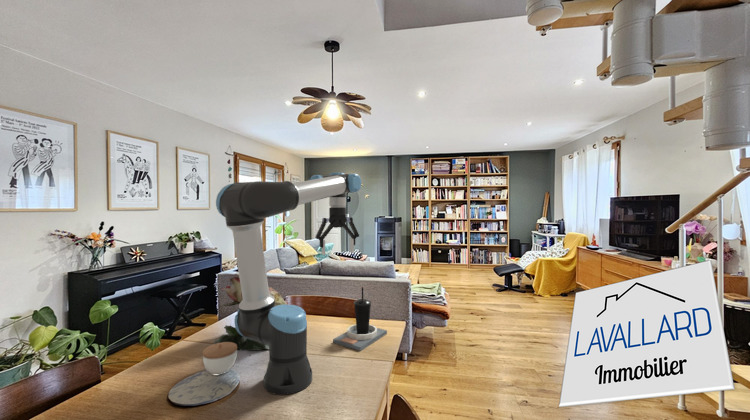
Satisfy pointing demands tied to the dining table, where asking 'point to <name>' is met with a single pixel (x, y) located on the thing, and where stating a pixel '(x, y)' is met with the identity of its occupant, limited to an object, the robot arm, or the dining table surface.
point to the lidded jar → (219, 357)
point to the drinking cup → (362, 314)
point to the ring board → (360, 342)
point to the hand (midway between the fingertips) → (337, 253)
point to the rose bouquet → (234, 336)
